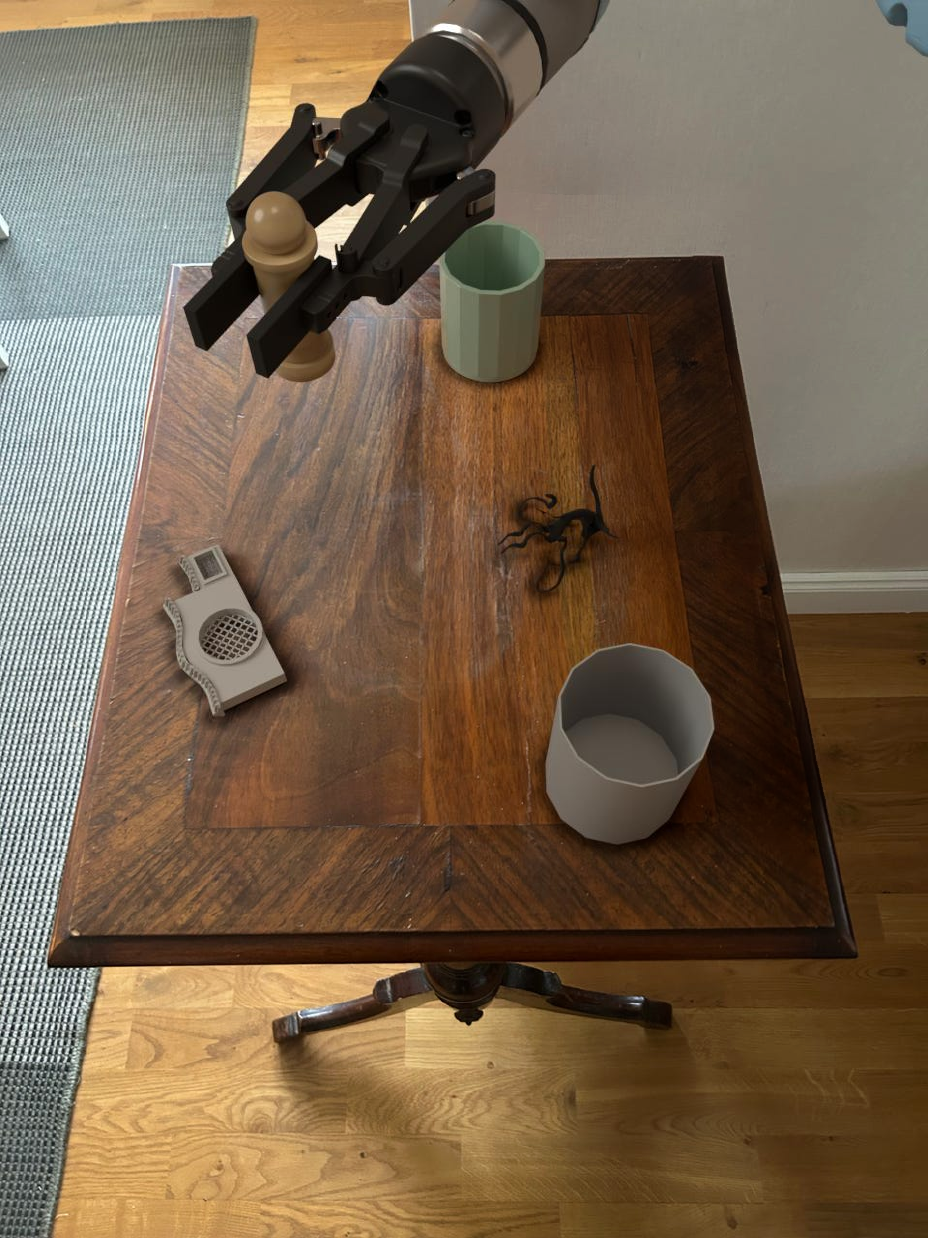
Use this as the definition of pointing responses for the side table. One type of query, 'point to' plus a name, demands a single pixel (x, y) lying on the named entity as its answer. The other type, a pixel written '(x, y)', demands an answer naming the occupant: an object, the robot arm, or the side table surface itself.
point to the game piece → (286, 273)
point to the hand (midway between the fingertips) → (226, 342)
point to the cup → (626, 741)
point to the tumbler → (491, 301)
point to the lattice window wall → (220, 634)
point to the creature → (558, 527)
